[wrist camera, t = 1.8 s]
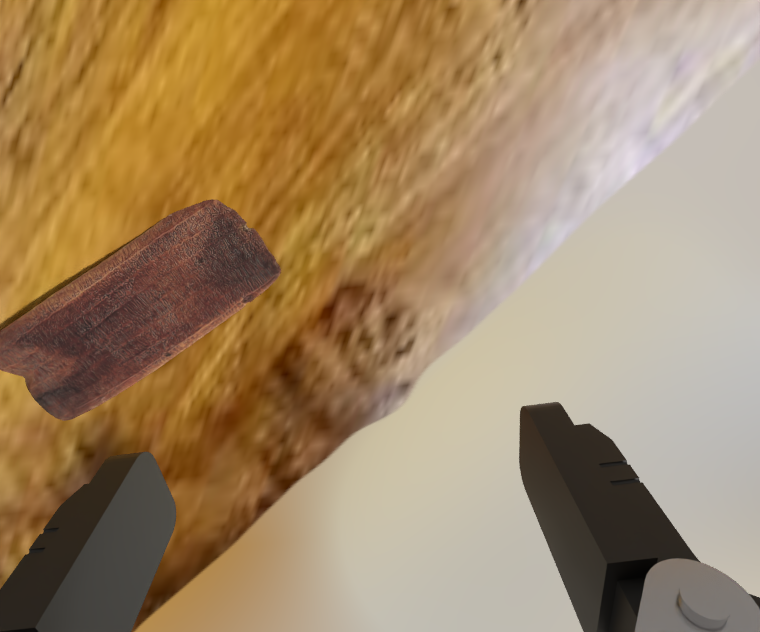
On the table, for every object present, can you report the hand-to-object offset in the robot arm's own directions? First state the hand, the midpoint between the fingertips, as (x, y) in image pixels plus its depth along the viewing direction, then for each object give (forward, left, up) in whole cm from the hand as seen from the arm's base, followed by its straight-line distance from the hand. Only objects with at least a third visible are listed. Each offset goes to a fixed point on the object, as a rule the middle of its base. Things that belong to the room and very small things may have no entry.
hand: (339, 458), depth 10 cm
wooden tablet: (-12, -17, -29) cm, 36 cm away
